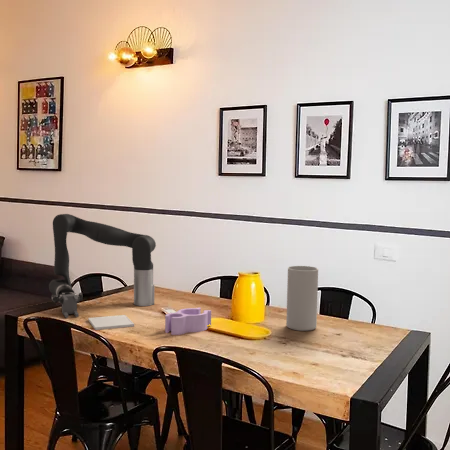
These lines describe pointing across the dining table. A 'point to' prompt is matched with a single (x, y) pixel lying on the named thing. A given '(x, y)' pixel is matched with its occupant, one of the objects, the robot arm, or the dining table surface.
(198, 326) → the clip
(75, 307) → the charcoal stool
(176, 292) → the dining table surface
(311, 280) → the cylinder vase
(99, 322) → the grey mat
